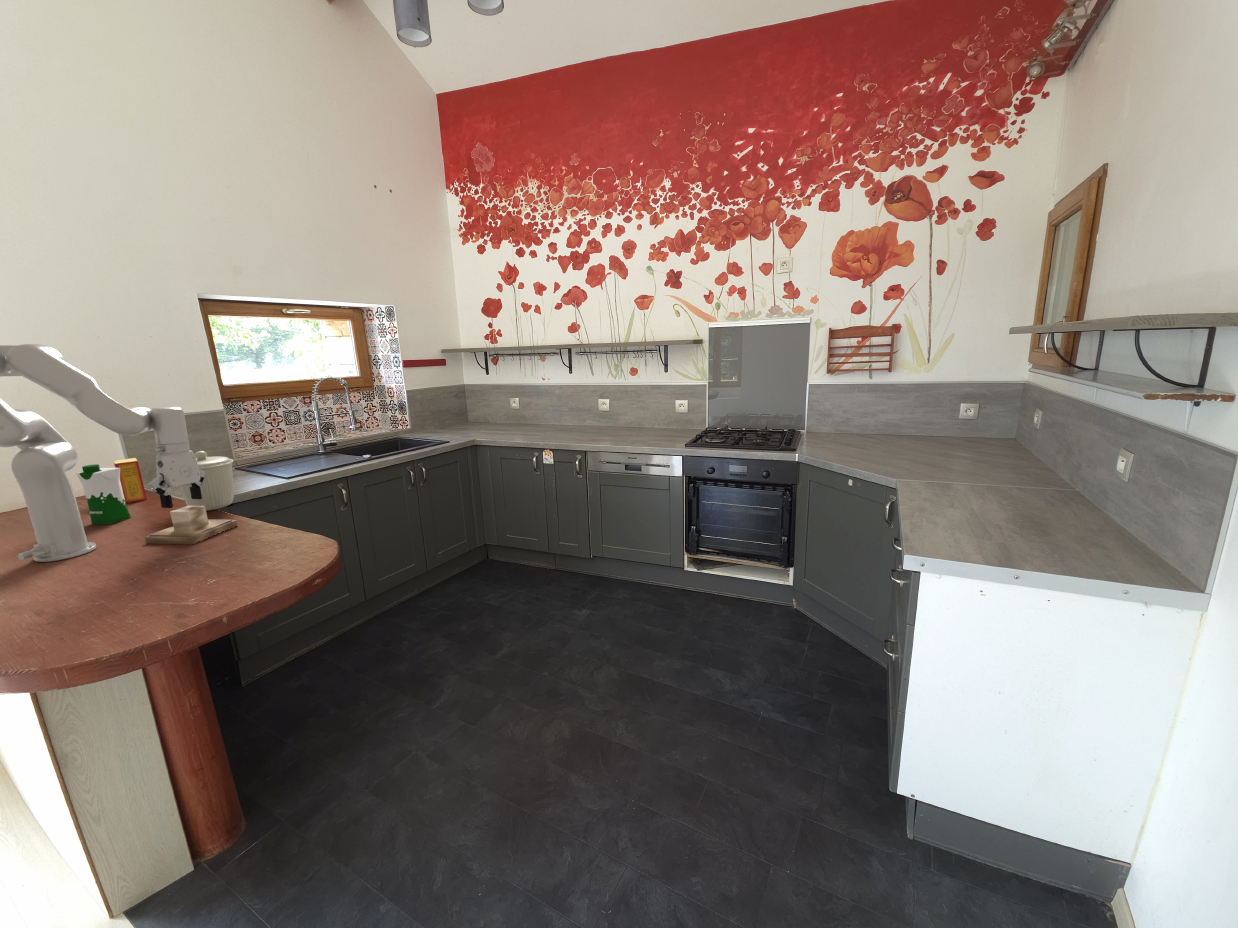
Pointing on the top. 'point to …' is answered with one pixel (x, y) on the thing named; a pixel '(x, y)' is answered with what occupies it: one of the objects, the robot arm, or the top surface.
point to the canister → (212, 482)
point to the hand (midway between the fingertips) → (182, 503)
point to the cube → (189, 518)
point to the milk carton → (104, 494)
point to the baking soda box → (131, 480)
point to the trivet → (190, 533)
